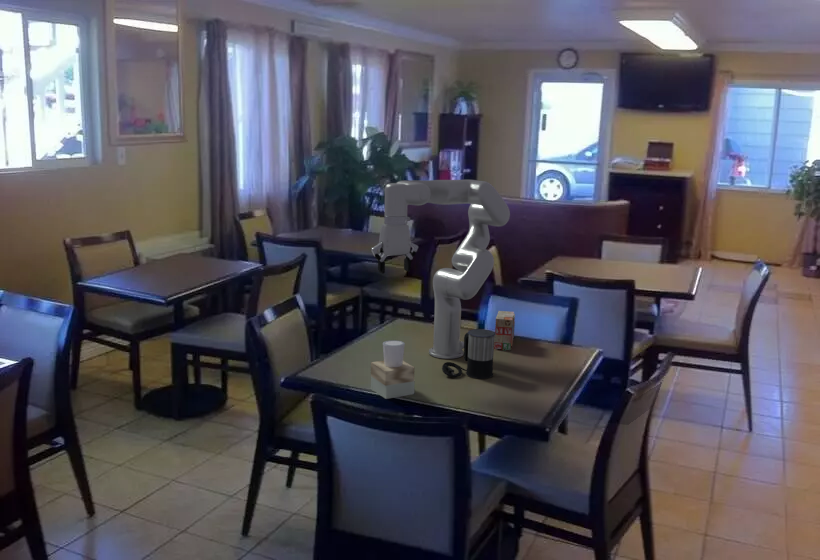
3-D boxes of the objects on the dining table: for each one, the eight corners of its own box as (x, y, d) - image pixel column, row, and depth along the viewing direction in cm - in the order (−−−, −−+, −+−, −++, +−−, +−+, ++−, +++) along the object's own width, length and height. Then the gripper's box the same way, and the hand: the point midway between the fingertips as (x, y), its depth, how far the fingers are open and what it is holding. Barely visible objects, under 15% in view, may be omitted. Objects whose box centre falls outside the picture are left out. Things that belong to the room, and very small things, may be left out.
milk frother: (499, 375, 266) (501, 333, 263) (468, 385, 255) (470, 341, 252) (467, 365, 276) (469, 324, 273) (436, 374, 265) (437, 332, 262)
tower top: (398, 371, 254) (399, 358, 253) (414, 381, 245) (414, 367, 244) (370, 375, 249) (371, 362, 248) (385, 385, 240) (385, 371, 239)
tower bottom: (398, 385, 255) (398, 371, 254) (414, 394, 246) (414, 380, 245) (370, 389, 250) (371, 376, 249) (386, 399, 241) (386, 385, 240)
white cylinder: (402, 368, 242) (403, 346, 241) (380, 367, 243) (380, 345, 242) (405, 361, 249) (406, 340, 248) (384, 360, 250) (384, 339, 248)
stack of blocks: (498, 335, 316) (500, 305, 314) (514, 336, 315) (515, 306, 313) (494, 350, 296) (495, 318, 293) (510, 351, 295) (512, 319, 292)
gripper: (412, 218, 269) (411, 268, 272) (367, 220, 261) (366, 271, 264) (423, 221, 263) (422, 272, 266) (377, 223, 254) (376, 275, 258)
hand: (394, 271), depth 265 cm, fingers open, 9 cm apart
